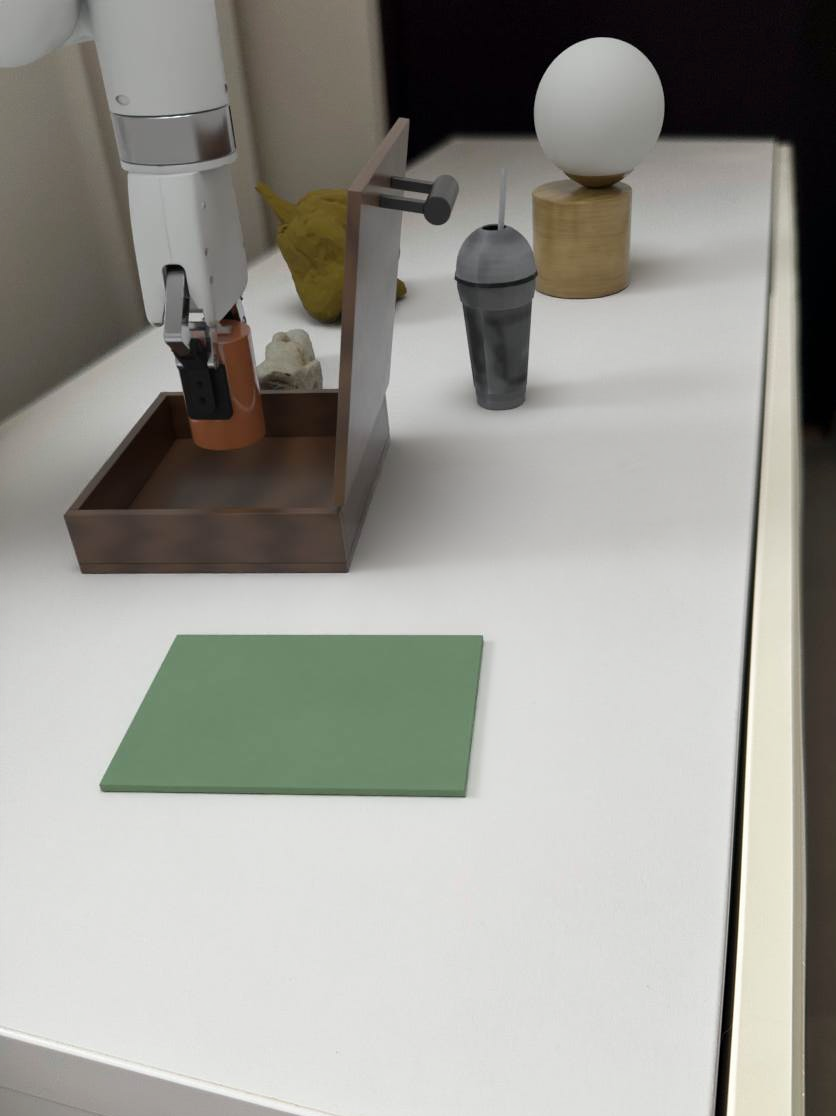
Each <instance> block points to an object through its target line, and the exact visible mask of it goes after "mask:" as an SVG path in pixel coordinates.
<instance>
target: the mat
mask: <svg viewBox="0 0 836 1116" xmlns="http://www.w3.org/2000/svg"><path fill="white" fill-rule="evenodd" d="M483 647H484V635H483V634H176V636H175V638H174V639H173V642H172V643H171V645H170V647H169V649H168V651H167V653H166V655H165V657H164V659H163V661H162V662H161V664H160V667H159V668H158V670H157V672H156V674H155V676H154V678H153V679H152V682H151V684H150V686H149V688H148V690H147V692H146V694H145V695H144V698H143V700H142V701H141V703H140V705H139V707H138V709H137V711H136V713H135V714H134V717H133V719H132V720H131V722H130V724H129V726H128V728H127V730H126V732H125V734H124V736H123V738H122V739H121V742H120V743H119V745H118V747H117V750H116V751H115V753H114V755H113V757H112V759H111V760H110V763H109V765H108V766H107V769H106V770H105V773H104V774H103V776H102V778H101V780H100V782H99V789H100V791H101V792H145V793H147V792H150V793H151V792H153V793H154V792H155V793H156V792H157V793H211V794H212V793H213V794H214V793H215V794H216V793H218V794H275V795H276V794H277V795H279V794H281V795H283V794H285V795H286V794H287V795H340V796H341V795H343V796H344V795H346V796H347V795H349V796H405V797H406V796H407V797H408V796H412V797H413V796H414V797H415V796H416V797H420V796H421V797H466V794H467V793H466V792H467V784H468V775H469V766H470V757H471V751H472V742H473V741H472V740H473V732H474V724H475V717H476V716H475V715H476V706H477V698H478V691H479V690H478V689H479V682H480V673H481V665H482V658H483V657H482V655H483Z"/></svg>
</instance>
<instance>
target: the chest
mask: <svg viewBox="0 0 836 1116" xmlns="http://www.w3.org/2000/svg"><path fill="white" fill-rule="evenodd" d="M260 392H261V399H262V405H263V411H264V418H265V424H266V434H265V436H264V437H263V438H262V439H261V440H259V441H258V442H256V443H254V444H251V445H249V446H246V447H242V448H238V449H232V450H210V449H205V448H202V447H199V446H197V445H196V444H195V443H194V442H193V440H192V435H191V430H190V425H189V420H188V415H187V410H186V405H185V400H184V395H183V391H161V392H159V394H158V395H157V397H156V398H155V399H154V400H153V401H152V403H151V404H150V405H149V407H148V408H147V409H146V410H145V412H144V413H143V414H142V416H141V417H140V418H139V419H138V420H137V422H136V423H135V424H134V425H133V426H132V428H131V429H130V431H129V432H128V433H127V434H126V436H125V437H124V438H123V439H122V441H121V442H120V443H119V444H118V446H117V447H116V448H115V450H114V451H113V452H112V453H111V455H110V456H109V457H108V458H107V459H106V461H104V464H102V466H101V467H100V468H99V470H98V471H97V472H96V474H95V475H94V476H93V477H92V478H91V479H90V481H89V482H88V483H87V485H86V486H85V487H84V489H83V490H82V491H81V492H80V494H78V496H77V497H76V499H75V500H74V501H73V503H71V504H70V506H69V507H68V509H67V510H66V511H65V512H64V514H63V520H64V522H65V526H66V528H67V532H68V534H69V539H70V541H71V544H72V547H73V550H74V553H75V557H76V559H77V560H76V561H77V562H78V566H79V570H80V572H81V574H170V573H171V574H173V573H174V574H183V573H185V574H187V573H190V574H193V573H194V574H196V573H202V574H203V573H204V574H205V573H206V574H207V573H208V574H209V573H211V574H214V573H217V574H218V573H220V574H222V573H224V574H225V573H227V574H228V573H231V574H232V573H348V572H349V569H350V566H351V564H352V560H353V557H354V554H355V551H356V548H357V545H358V542H359V539H360V535H361V532H362V530H363V526H364V524H365V519H366V517H367V514H368V510H369V507H370V504H371V501H372V498H373V495H374V493H375V489H376V486H377V482H378V479H379V477H380V473H381V471H382V467H383V464H384V461H385V459H386V454H387V451H388V449H389V445H390V443H391V432H390V431H391V430H390V422H389V421H390V420H389V411H388V404H387V402H388V401H387V394H386V393H387V392H386V393H385V396H384V398H383V401H382V404H381V407H380V409H379V412H378V415H377V418H376V421H375V423H374V426H373V429H372V432H371V434H370V437H369V440H368V443H367V445H366V448H365V451H364V454H363V457H362V459H361V462H360V465H359V468H358V470H357V473H356V476H355V479H354V481H353V484H352V487H351V490H350V493H349V495H348V498H347V501H346V504H345V506H344V507H338V506H333V492H334V471H335V450H336V429H337V408H338V388H323V389H298V390H260Z"/></svg>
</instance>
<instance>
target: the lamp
mask: <svg viewBox="0 0 836 1116" xmlns="http://www.w3.org/2000/svg"><path fill="white" fill-rule="evenodd" d="M663 89H664V88H663V86H662V81H661V79H660V76H659V74H658V72H657V70H656V69H655V67H654V65H653V63H652V62H651V61H650V60H649V59H648V57H647V56H646V55H645V54H644V53H643V52H642V51H641V50H639V49H638V48H637V47H635V46H634V45H632V44H631V43H629V42H626V41H623V40H621V39H618V38H613V37H606V36H605V37H601V36H600V37H591V38H587V39H584V40H581V41H578V42H576V43H574V44H572V45H571V46H569V47H567V48H566V49H565V50H564V51H562V52H561V53H560V54H559V55H557V57H555V58H554V59H553V61H552V62H551V63H550V64H549V65H548V67H547V69H546V71H545V72H544V74H543V76H542V78H541V80H540V82H539V84H538V87H537V89H536V94H535V98H534V99H535V100H534V106H533V121H534V128H535V129H534V130H535V133H536V137H537V140H538V142H539V145H540V147H541V149H542V151H543V152H544V154H545V156H546V157H547V159H548V160H549V161H550V162H551V163H552V165H553V166H555V167H556V168H558V169H559V170H560V171H561V172H563V174H564V175H565V176H566V177H568V178H567V179H560V180H554V181H550V182H549V181H548V182H546V183H542V184H540V185H538V186H536V187H535V188H533V189H532V191H531V211H532V213H531V216H532V217H531V218H532V220H531V221H532V251H533V254H534V258H535V265H536V268H537V272H538V276H537V277H536V286H535V290H537V291H538V292H540V293H541V294H544V295H547V296H551V297H557V298H561V299H562V298H563V299H592V298H593V299H594V298H600V297H601V298H602V297H605V296H610V295H613V294H616V293H619V292H621V291H623V290H625V289H626V288H627V287H628V285H629V284H630V270H631V269H630V268H631V267H630V265H631V242H632V241H631V239H632V238H631V237H632V211H633V210H632V208H633V188H632V186H631V185H630V184H628V183H626V182H623V180H624V179H625V178H627V177H628V176H629V175H630V174H632V173H633V171H634V170H635V168H638V166H639V165H641V164H642V163H643V162H644V161H645V160H646V159H647V158H648V156H649V155H650V154H651V152H652V151H653V149H654V147H655V145H656V143H657V141H658V140H659V137H660V134H661V132H662V129H663V128H662V127H663V123H664V118H665V95H664V90H663Z"/></svg>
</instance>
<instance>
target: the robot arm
mask: <svg viewBox="0 0 836 1116" xmlns="http://www.w3.org/2000/svg"><path fill="white" fill-rule="evenodd" d="M93 41H94V44H95V49H96V53H97V57H98V62H99V67H100V71H101V76H102V80H103V86H104V90H105V95H106V99H107V104H108V105H107V106H108V110H109V114H110V119H111V123H112V129H113V133H114V137H115V138H114V139H115V141H116V147H117V151H118V156H119V162H120V167H121V169H123V170H124V171H126V172H128V173H127V193H128V206H129V216H130V225H131V226H130V227H131V232H132V241H133V248H134V253H135V260H136V265H137V271H138V277H139V283H140V289H141V295H142V300H143V305H144V311H145V315H146V320H147V321H148V322H149V324H150V325H151V326H152V327H154V328H161V327H163V330H162V331H163V335H162V337H163V341H164V343H165V344H166V345H167V346H168V348H169V349H170V351H171V352H172V354H173V356H174V360H175V361H174V362H175V367H176V369H177V370H178V369H179V371H178V374H179V373H180V376H179V379H180V378H181V381H180V384H181V383H182V386H181V388H182V387H183V391H182V392H184V397H185V402H186V407H187V412H188V416H189V417H190V418H191V419H193V420H229V419H230V418H231V417H232V415H233V408H232V402H231V397H230V391H229V386H228V380H227V374H226V369H225V364H219V354H218V339H217V323H218V322H219V321H220V320H221V319H230V320H237V321H241V322H244V323H246V324H248V322H247V317H246V313H245V309H244V306H243V302H242V301H243V300H244V297H243V295H244V292H245V291H246V288H247V286H248V282H249V275H248V274H249V273H248V263H247V253H246V248H245V241H244V235H243V229H242V224H241V218H240V213H239V207H238V203H237V197H236V193H235V188H234V183H233V178H232V175H231V170H230V167H229V165H231V164H233V163H235V162H236V161H237V160H238V158H239V155H238V148H237V144H236V143H237V142H236V135H235V130H234V123H233V115H232V111H231V110H232V109H231V105H230V104H231V103H230V96H229V90H228V83H227V78H226V71H225V65H224V64H225V63H224V58H223V52H222V51H223V50H222V45H221V44H222V43H221V37H220V31H219V23H218V18H217V10H216V4H215V0H0V69H13V68H20V67H23V66H27V65H30V64H32V63H34V62H36V61H39V60H40V59H42V58H44V57H45V56H46V55H48V54H51V53H53V52H56V51H59V50H61V49H63V48H66V47H67V46H71V45H76V44H80V43H81V44H82V43H86V42H93ZM190 314H203V317H202V318H201V320H199V321H198V320H197V321H195V320H194V321H193V320H191V321H190ZM190 331H204V334H205V346H204V345H203V344H202V342H201V341H200V340H199V339H198V338H193V337H192V334H191V333H190Z"/></svg>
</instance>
